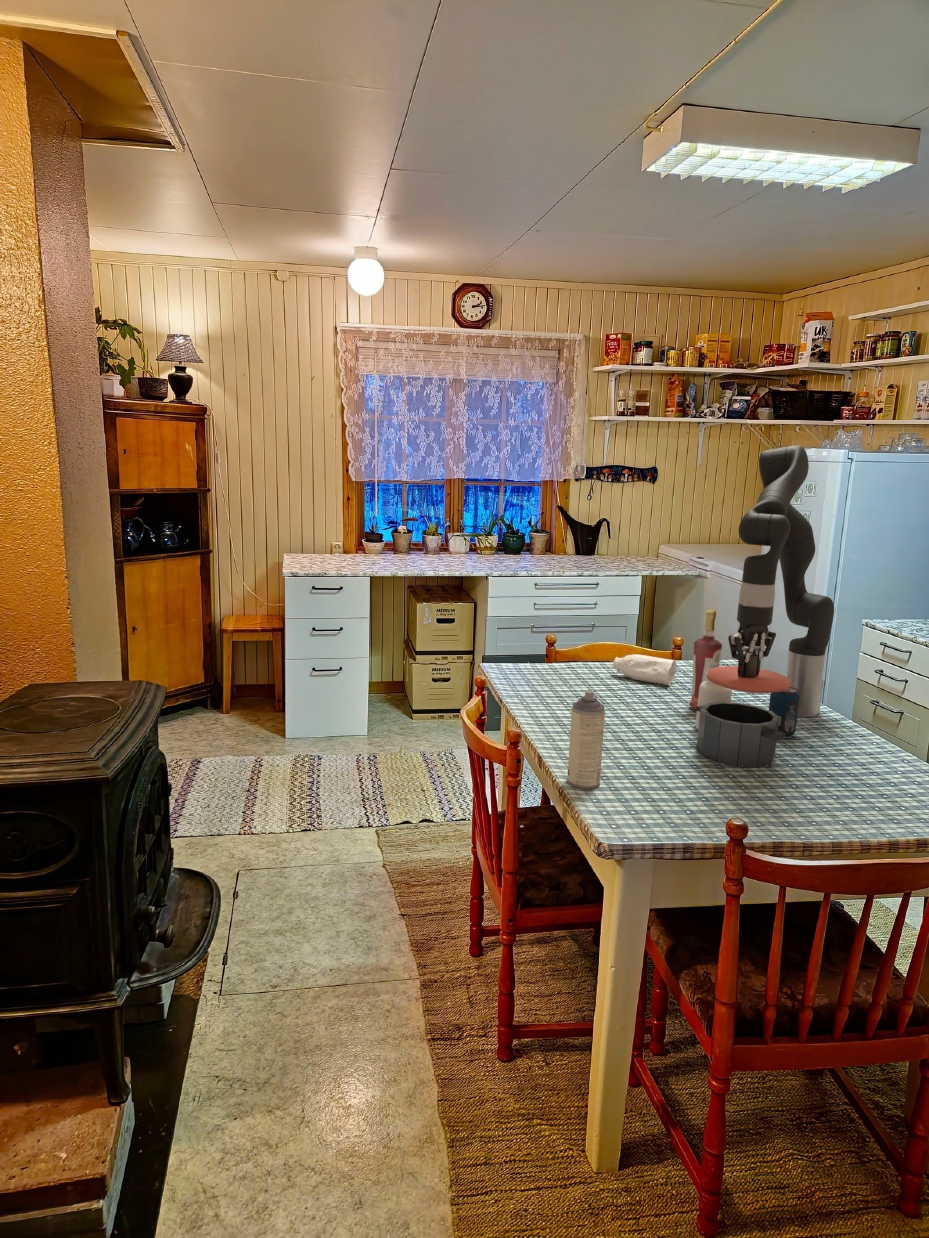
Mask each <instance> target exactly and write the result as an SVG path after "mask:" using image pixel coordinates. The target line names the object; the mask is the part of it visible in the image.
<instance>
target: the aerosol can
mask: <svg viewBox="0 0 929 1238" xmlns="http://www.w3.org/2000/svg"><path fill="white" fill-rule="evenodd" d="M584 692H585V693H584V695H583V696H581V698H579V699H578V700H577V701H576V702H574V703H573V704H572V707H571V713H570V714H571V715H570V731H569V733H570V734H569V749H568V760H567V762H568V763H567V764H568V765H567V777H566V778H567V780H566V781H567V782H568V783H569V784H568V783H567V784H568V785H569V786H570V785H571V786H570V787H572V786H573V787H572V788H575V789H578V788H580V789H579V790H586V789H588V790H594V789H597V788H599V787H600V785H601V776H602V775H601V772H602V761H603V759H602V758H603V747H604V746H603V744H604V733H605V720H606V719H605V718H606V717H605V716H606V710H605V708H606V707H605V705H603V704H602V703H601V701H600V700H598V699H597V697H595V692H594V691H593V690H585V691H584Z"/></svg>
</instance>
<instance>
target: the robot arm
mask: <svg viewBox="0 0 929 1238" xmlns="http://www.w3.org/2000/svg"><path fill="white" fill-rule="evenodd" d="M809 463H810V462H809V457H808V453H807V450H806V449H805V448H804V446H801V445H789V446H783V447H778V448H771V449H767V450H763V451H762V452H760V454H759V457H758V470H759V473H760V474H759V476H760V479H761V482H762V487H763V489H762V491H761V492H760V493H759V495H758V499H757V501H756V504H755V505H754V506H752V508H750V509H749V510H748V511H747V512H746V513H745V514H744V515H743V517H742V518H741V520H740V523H739V525H738V536H739V539H740V540H741V541H742V542H743V543H744V544H747V545H749V546H751V545H752V546H762V547H763V546H766V547H770V548H769V550H768V551H767V552H766V553H763V554H757V555H756V554H755V555H750V556H746V558H744V561H743V562H744V563H743V569H742V579H741V585H740V589H739V593H738V594H739V595H738V596H739V597H738V604H737V605H738V606H737V613H736V614H737V616H736V621H737V622H738V623H739V626H738V629H737V633H734V635H733V634H730V635H729V636H728V638H727V639H728V640H727V641H728V643H729V649H730V654H731V658H732V659H736V660H737V661H738V663H737V666H738V671H737V673H738V676H739V677H742V678H747V676H748V667H749V662H748V661H749V658H750V654H755V655H758V660H757V669H756V676H758V675H759V672H760V669H761V662H762V660H763V659H764V658H765V657H766V658H767V657H768V656H769V654H770V652H771V651H772V650H771V649H772V646H773V644H774V642H775V640H776V637H777V633H776V632H773V631H770V630H769V626H771V624H772V623H773V615H774V607H775V599H776V598H775V597H776V577H777V571H778V570H777V569H778V563H779V562H780V563H779V564H780V569H781V576H782V582H783V591H784V603H785V612H786V616H787V618H788V620H789V621H790V622H791V623H792V624H793V625H796V626H799V627H804V628H808V629H807V633H806V635H805V636H803V637H798V638H797V637H796V638H793V639H791V640H790V642H789V645H788V653H787V654H788V655H787V661H786V669H785V670H786V671H785V677H787V678H788V679H789V680H790V687H793V688H796V689H797V690H798V694H799V696H800V700H799V708H798V718H799V717H800V718H814V717H817V716H818V714H820V712H821V705H822V704H821V703H822V695H823V688H824V679H823V672H824V665H825V658H826V650H827V647H828V645H829V642H830V638H831V632H832V631H831V630H832V628H833V627H832V625H833V622H834V616H835V605H834V601H833V599H832V598H831V597H829V596H826V595H822V594H816V593H811V592H808V591H807V587H806V582H805V577H806V575H805V574H806V572H807V570H808V568H809V567H810V565H811V563H812V561H813V560H814V557H815V554H816V543H815V542H816V541H815V538H814V537H815V536H814V531H813V528H812V525H811V523H810V522H809V520H808V519H807V518H806V517H805V516H804V515H803V514H802V513H801V512H800V511H799V510H798V509H796V508H795V506H793V505H792V504H791V501H792V499H793V498H794V496H795V495H796V493H798V491H799V490H800V488H801V487H802V486H803V484H804V483H805V480H806V479H807V477H808V473H809V467H810V466H809ZM743 654H745V656H744V655H743ZM817 713H818V714H817Z"/></svg>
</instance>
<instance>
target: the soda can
mask: <svg viewBox="0 0 929 1238" xmlns="http://www.w3.org/2000/svg"><path fill="white" fill-rule="evenodd" d="M769 694H770V695H769V704H768V710H770V711H772V712H774V713H775V714H776V715H777V716H778V717H779V726H778V731H780V732H783V733H786V734H785V738H784V739H788V738H792V737H793V736H794V734H795V733H796V732H797V731H796V730H797V725H798V724H797V723H798V718H799V716H798V708H799V700H800V696H799V694H798V690H797V689H796V688H793V687H789V689H787V690H785V691H781V692H773V693H769Z"/></svg>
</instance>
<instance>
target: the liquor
mask: <svg viewBox="0 0 929 1238" xmlns="http://www.w3.org/2000/svg"><path fill="white" fill-rule="evenodd" d="M716 619H717V610H716V609H706V610H705V624H704V631H703V636H702V637H701V638H698V639H696V640H695V641H694V642H693V658H692V660H693V661H692V684H691V685H692V687H691V701H690V702H689V706H690V707H691V708H692V710H694V712H697V711H696V706H697V705H698V696H699V687H700V685H701V683H702V682H704V681H707V680H706V673H707V672H708V670H709V669H711V668H714V667H720V663H721V657H722V649H723V644H722V643H721V642H720V641H719V640H718V639H716V637H715V624H716V623H715V622H716Z"/></svg>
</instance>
